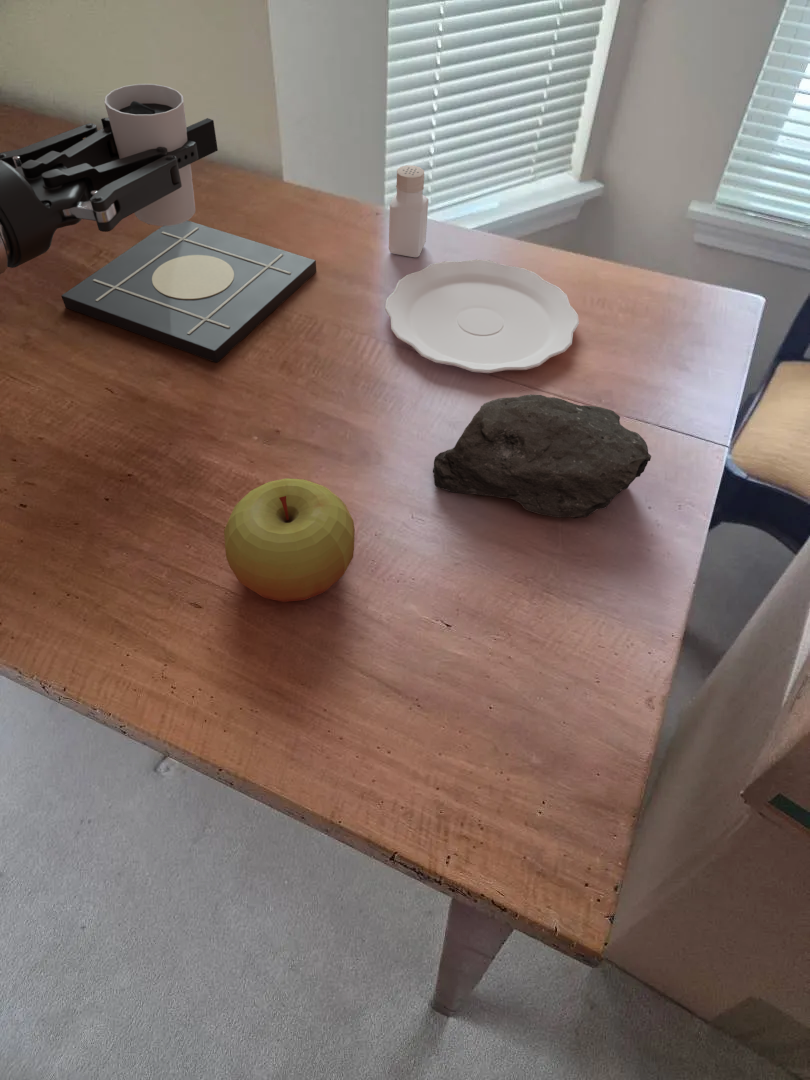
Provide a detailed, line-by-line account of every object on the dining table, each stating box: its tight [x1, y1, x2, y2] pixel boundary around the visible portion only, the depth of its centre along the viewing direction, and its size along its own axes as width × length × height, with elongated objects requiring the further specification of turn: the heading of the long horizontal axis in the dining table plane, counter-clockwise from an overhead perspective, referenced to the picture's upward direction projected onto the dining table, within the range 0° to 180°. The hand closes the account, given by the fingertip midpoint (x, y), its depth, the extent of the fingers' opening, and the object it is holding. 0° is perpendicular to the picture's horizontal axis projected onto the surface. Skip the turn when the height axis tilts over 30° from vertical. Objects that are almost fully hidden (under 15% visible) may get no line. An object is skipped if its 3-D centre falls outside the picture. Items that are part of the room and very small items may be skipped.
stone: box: [432, 394, 652, 518], centre depth 65 cm, size 18×9×10 cm
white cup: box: [104, 83, 196, 227], centre depth 69 cm, size 7×7×10 cm
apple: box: [223, 478, 356, 603], centre depth 57 cm, size 10×10×8 cm
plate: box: [384, 259, 580, 374], centre depth 83 cm, size 21×21×2 cm
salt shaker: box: [388, 164, 429, 258], centre depth 89 cm, size 4×4×10 cm
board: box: [61, 220, 317, 364], centre depth 85 cm, size 20×20×2 cm
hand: (194, 127), depth 71 cm, fingers closed on white cup, 4 cm apart
